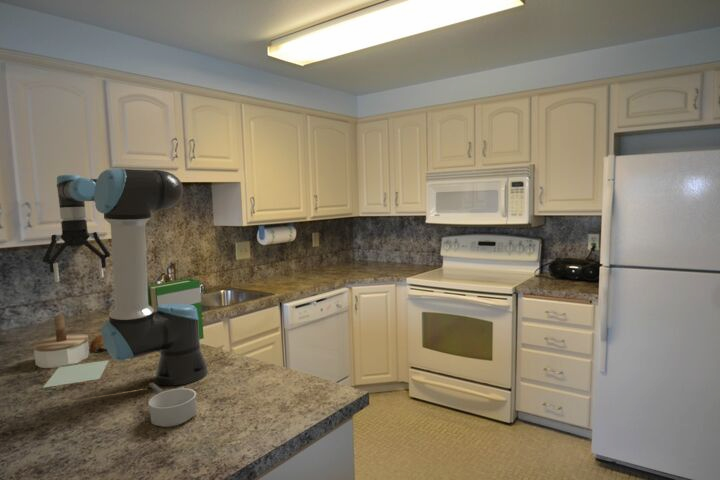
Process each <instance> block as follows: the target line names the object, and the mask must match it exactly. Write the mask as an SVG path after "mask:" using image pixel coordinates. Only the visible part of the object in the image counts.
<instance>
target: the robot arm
mask: <svg viewBox="0 0 720 480" xmlns="http://www.w3.org/2000/svg"><path fill="white" fill-rule="evenodd" d="M56 188H57V197H58V203H59V205H58V206H59V216H60V219H61V222H60V225H61V234H52V235H51V237H50V238H51V239H50V243H49V246H48V248H47V250H46V252H45V254H44V256H43V259H42V262H43V263H47V264H49V271H50V273H53V275H54V282H55V283H58V282H60V274H59V264H58V262H56V261H57V260H58V258H59V257H60V256H61V255H62V254H63V253H64V251H65V250H66V249H67V248H68V247H77V246H78V247H81V246H85V247H87V249H89V250H90V251H91V252H93V253H94V255H96V256H97V257H99V259H98V268H99V272H98V273H99V278H100V279H102V278H104V277H105V275H104V268H106V267H107V264H106V263H107V262H106V259H107V258H109V257H110V256H112V257H111V258H112V275H113V277H112V278H113V281H112V282H113V295H114V296H113V299H114V308H113V309H112V310H111V311H110V312H108V321H105V322H103V323H102V325H101V330H100V331H101V332H100V333H101V334H102V338H103V341H104V344H105V347H106V349H107V351H106V352H107V353H108V355H109V356H110V357H111V358H112V359H113V360H115V361H118V362H121V361H126V360H130V359H131V360H133V359H135V358H138V357H142V356H145V355H148V354H152V353H156V352H159V353H160V356H159V361H158V364H157V368H156V371H155V380H156V382H157V384H160V385H162V386H168V387H169V386H181V385H186V384H190V383H194V382H196V381H199V380H201V379H202V378H204V377H205V376H206V375H208V365H207V362H206V360H205V357H204V355H203V353H202V351H201V345H200V344H201V343H200V341H201V340H200V339H199V326H198V320H199V318H198V314H197V309H196V307H195V306H193V305H190V304H180V303H173V304H162V305H159V306H157V309H156V311H157V312H154V309H153V308H152V307H151V306H149V305H148V286H149V285H148V267H147V266H148V264H147V263H148V262H147V240H146V239H147V234H146V224H147V223H148V222H149V221H150V220H151V219H152V212H153V211H163V210H168V209H171V208H173V207H175V206H176V205H177V204H178V203H179V202H180V201H181V200H182V198H183V195H184V186H183V184H182V181H181V180H180V179H179V177H177V176H176V175H175V174H174V173H171V172H169V171H166V170H160V169H133V168H132V169H129V168H127V169H126V168H115V169H105V170H103V171H102V172H101V173H100V174H99V175H98V177H97V178H89V177H82V176H81V175H79V174H61V175H58V176H57V177H56ZM85 202H94V203H95V204H94V205H95V206H94V207H95V208H96V210H97V212H99V213H100V214H103V219H104V221H106V222H107V223H109V225H110V234H111V235H110V236H111V253H110V251H109V250H108V249H107V247H106V245H105V244H104V243H103V242H102V240H101V238H100V235H99V232H98V231H93V232H90V233H89V231H88V223H87V220H86V219H85V218H87V214H86V207H85V206H86V205H85ZM151 211H152V212H151ZM89 238H91V239H94V241H95V242H96V244H97V245H98V246H99V248H100V249H101V251H102V252H103V253H102V252H101V251H100V250H98V249H97V248H96V247H95V246H94V245H92V243H91V242H89V240H88V239H89ZM60 239H61V240H63V244H62V245H61V246H60V248H59V249H58V250H57V251H56V252H55V253H54V255H52V253H53V252H54V249H55V248H56V245H57V243H58V241H60ZM51 256H52V257H51Z"/></svg>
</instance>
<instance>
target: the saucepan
mask: <svg viewBox="0 0 720 480" xmlns="http://www.w3.org/2000/svg"><path fill="white" fill-rule="evenodd" d="M148 386H149V387H150V388H151V389H152V390H154V391H155V392H156V394H155V395H153V396H150V398H149V399H147V405H148V407H149V415H150V422H151V424H152V425H155V426H158V427H159V426H160V427H161V428H162V427H163V428H165V427H166V428H169V427H174V426H179V425H182V424H183V423H186V422H188V421H189V420H190V419H191V418H193V417H194V416H195V415H196V412H197V407H196V396H197V391H195V390H194V389H192V388H186V387H185V388H183V387H181V388H173V389H168V390H164V389H162V388H161V387H160V386H159V385H157V384H155V383H154V382H151V383H150V382H149V383H148Z"/></svg>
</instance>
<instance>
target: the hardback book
mask: <svg viewBox="0 0 720 480" xmlns="http://www.w3.org/2000/svg"><path fill="white" fill-rule="evenodd" d="M147 286H148V305H149V306H151V307H152V308H153V309H154V312H157V311H156V309H157V306H159V305H162V304H173V303H180V304H190V305H193V306H195V307H196V309H197V314H198V318H199V320H198V326H199V340H202V339H204V324H203V323H204V322H203V311H202V310H203V307H202V297H201V296H202V295H201V282H200V279H195V278H184V279H179V280H174V281H168V282H162V283H156V284H151V285H147Z"/></svg>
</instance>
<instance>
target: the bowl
mask: <svg viewBox="0 0 720 480" xmlns="http://www.w3.org/2000/svg"><path fill="white" fill-rule="evenodd" d="M33 351H34V360H35V361H34V363H35V366H38V367H39V368H42V369H54V368H55V369H56V368H59V367H64V366H71V365H75V364H77V363H80V362H83V361H84V360H86V359H87V358H88V357H89V354H90V347H89V340H88V341H87V342H85V343H83V344H81V345H78V346H75V347H72V348H68V349H63V350H57V351H46V352H42V351H36V350H34V349H33Z"/></svg>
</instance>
